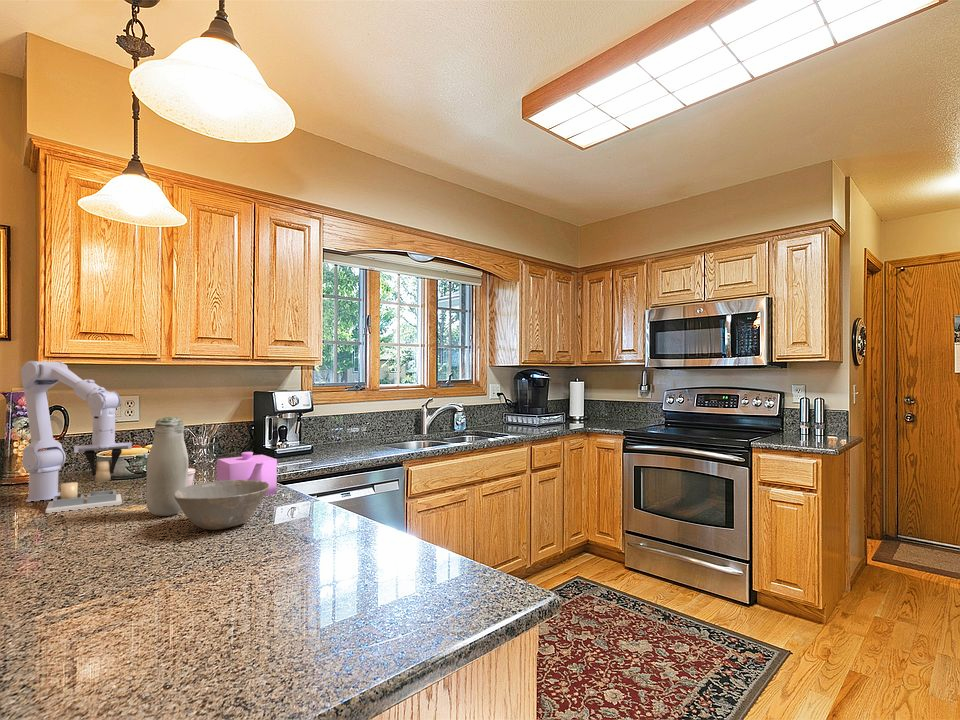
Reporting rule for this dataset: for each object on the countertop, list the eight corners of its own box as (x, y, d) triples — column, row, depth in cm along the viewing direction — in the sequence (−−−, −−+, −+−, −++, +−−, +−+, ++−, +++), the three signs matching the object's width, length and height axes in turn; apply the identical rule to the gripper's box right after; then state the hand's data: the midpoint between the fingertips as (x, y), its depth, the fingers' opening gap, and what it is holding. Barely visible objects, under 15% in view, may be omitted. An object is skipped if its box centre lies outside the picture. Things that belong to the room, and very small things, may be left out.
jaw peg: (95, 479, 162) (95, 460, 163) (110, 478, 165) (111, 459, 165) (94, 482, 159) (95, 462, 159) (110, 480, 162) (111, 461, 162)
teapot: (236, 505, 160) (237, 459, 161) (211, 491, 178) (212, 450, 179) (285, 497, 171) (285, 454, 171) (257, 485, 189) (257, 446, 189)
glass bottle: (141, 521, 142) (143, 418, 143) (153, 511, 152) (155, 415, 153) (181, 518, 145) (183, 418, 146) (190, 509, 155) (192, 415, 156)
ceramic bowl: (154, 530, 134) (155, 491, 134) (233, 510, 154) (234, 476, 155) (209, 544, 124) (210, 502, 124) (286, 520, 144) (286, 484, 144)
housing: (48, 505, 159) (49, 482, 159) (120, 496, 169) (120, 475, 169) (45, 513, 149) (46, 489, 149) (121, 504, 160) (122, 481, 160)
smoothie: (187, 503, 162) (188, 458, 162) (167, 503, 162) (168, 458, 162) (199, 498, 168) (199, 455, 169) (179, 498, 168) (180, 454, 169)
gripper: (74, 433, 155) (73, 478, 154) (132, 430, 163) (131, 473, 163) (74, 430, 160) (73, 475, 160) (131, 428, 169) (130, 469, 169)
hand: (102, 474), depth 162 cm, fingers closed on jaw peg, 4 cm apart
